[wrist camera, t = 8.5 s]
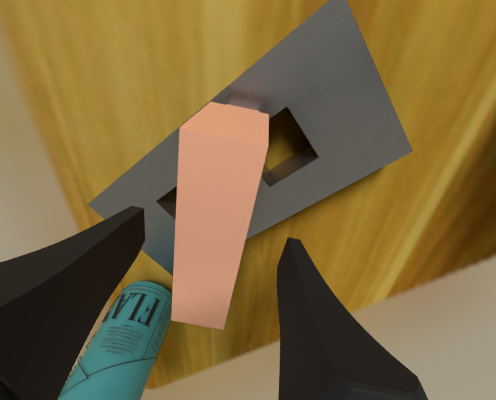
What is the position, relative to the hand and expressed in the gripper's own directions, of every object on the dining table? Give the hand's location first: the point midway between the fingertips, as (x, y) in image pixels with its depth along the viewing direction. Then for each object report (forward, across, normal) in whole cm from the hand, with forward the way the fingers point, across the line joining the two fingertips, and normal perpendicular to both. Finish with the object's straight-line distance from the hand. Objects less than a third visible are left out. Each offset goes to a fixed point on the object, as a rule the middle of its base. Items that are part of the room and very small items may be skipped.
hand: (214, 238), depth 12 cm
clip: (+6, 0, 0) cm, 6 cm away
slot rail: (+9, 0, 0) cm, 9 cm away
